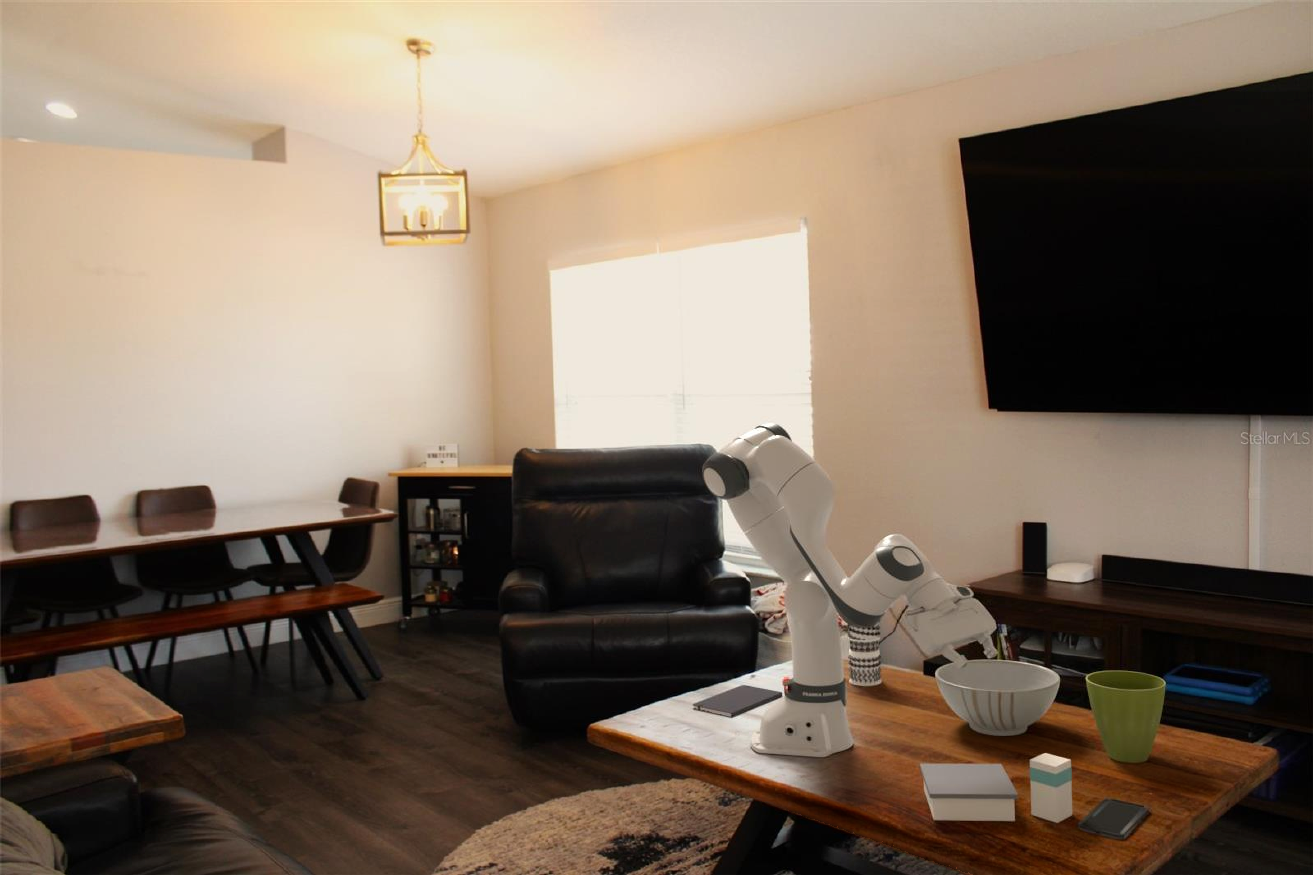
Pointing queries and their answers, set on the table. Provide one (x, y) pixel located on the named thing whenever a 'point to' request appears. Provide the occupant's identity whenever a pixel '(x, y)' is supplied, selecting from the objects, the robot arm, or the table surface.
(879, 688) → the table surface
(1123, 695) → the flower pot
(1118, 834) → the phone
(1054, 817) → the carton
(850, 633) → the decorative candle
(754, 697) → the notebook
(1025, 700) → the decorative bowl
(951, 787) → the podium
